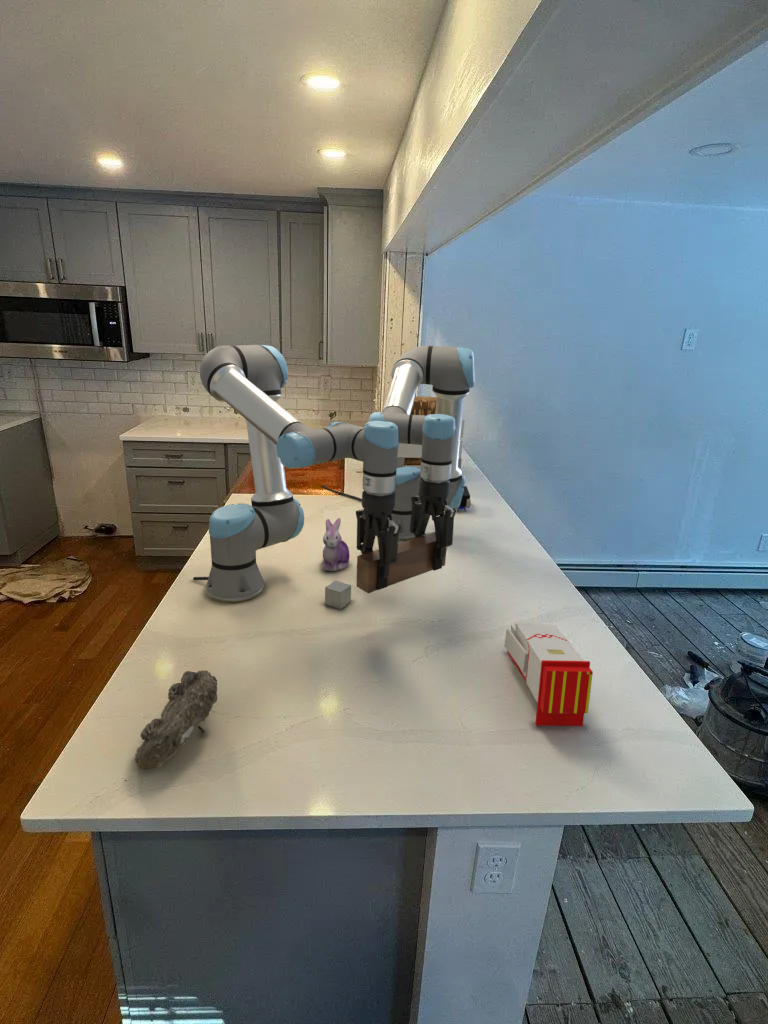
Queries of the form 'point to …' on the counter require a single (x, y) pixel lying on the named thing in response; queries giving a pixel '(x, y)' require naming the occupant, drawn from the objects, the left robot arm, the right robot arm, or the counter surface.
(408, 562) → the walnut block
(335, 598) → the grey ceramic block
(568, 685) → the toy
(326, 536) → the figurine
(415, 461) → the white slatted box
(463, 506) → the figurine character
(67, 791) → the counter surface
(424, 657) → the counter surface
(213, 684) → the fossil
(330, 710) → the counter surface
